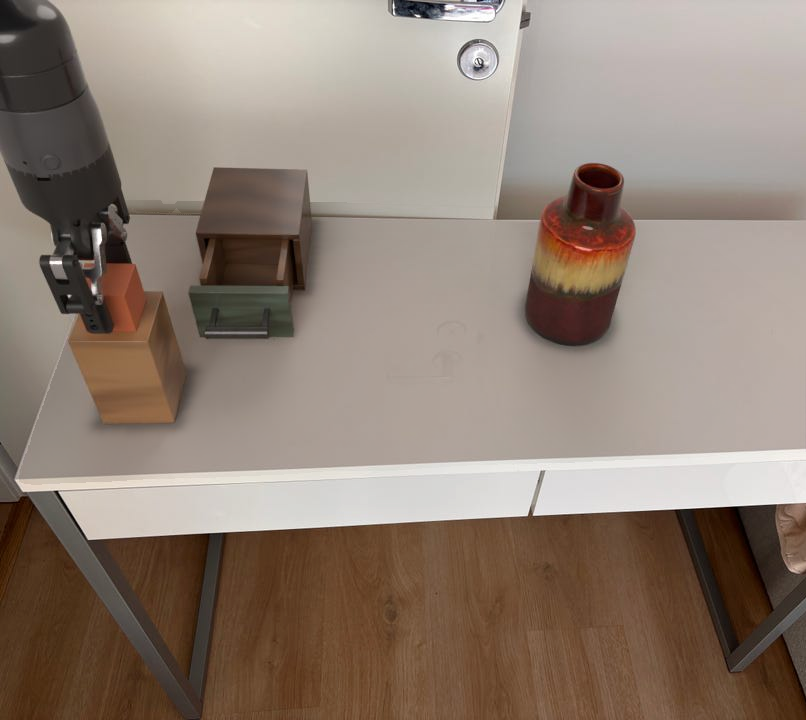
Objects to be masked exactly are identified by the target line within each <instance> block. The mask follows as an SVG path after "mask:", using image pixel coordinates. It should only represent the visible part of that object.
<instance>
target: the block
mask: <svg viewBox="0 0 806 720" xmlns="http://www.w3.org/2000/svg"><path fill="white" fill-rule="evenodd" d="M94 265H95V262H85V263H83V267H94ZM106 266H107V274H106V275H105V276H103V277H102V289H103V297H104V298H105V301H106V304H107V306H108V309H109V312H110V314H111V317H112V320H113V322H114V328H113V331H112V332H136V331H137V328H138V325H139V322H140V318H141V315H142V312H143V309H144V306H145V303H146V296H145V293H144V291H145V290H144V287H143V284H142V281H141V277H140V274H139V271H138V268H137V265H136V263H132V264H112V263H106ZM86 281H87V283H88V286H89V288H90V291H92V289H91V281H90V279H89V278H86ZM78 315H79V316H80V314H78ZM80 319H81V321H82V318H81V316H80ZM82 324H83V326H84V329H85V331H86V332H88V331H87V330H86V328H85V325H84V323H83V321H82Z"/></svg>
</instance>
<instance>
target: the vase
mask: <svg viewBox="0 0 806 720" xmlns="http://www.w3.org/2000/svg"><path fill="white" fill-rule="evenodd" d="M624 185H625V178H624V176H623V174H622V173H621V171H619V170H618V169H617V168H615V167H613V166H611V165H608V164H605V163H601V162H587V163H583V164H580V165H578V167H576V168H575V169H574V172H573V174H572V177H571V181H570V185H569V188H568V191H567V194H566V195H562V196H559V197H557V198H555V199H553V200H552V201H550V202H548V204H546V206H544V208H543V210H542V212H541V215H540V220H539V224H538V230H537V235H536V236H537V237H536V242H535V248H534V253H533V258H532V264H531V270H530V276H529V281H528V287H527V294H526V300H525V306H524V315H525V320H526V322H527V323H528V326H529V327H530V328H531V329H532V330H533V332H535V333H536V334H537V335H539V336H540V337H541V338H543V339H545V340H547V341H549V342H552V343H553V344H558V345H562V346H566V347H567V346H569V347H581V346H587V345H590V344H593V343H595V342H597V341H599V340H600V339H602V338H603V337H604V336H605V335H606V333H607V332H608V330H609V328H610V325H611V323H612V322H611V321H612V318H613V315H614V312H615V309H616V304H617V301H618V298H619V294H620V291H621V287H622V284H623V281H624V278H625V277H624V276H625V273H626V269H627V266H628V263H629V259H630V256H631V253H632V249H633V246H634V242H635V237H636V234H637V233H636V232H637V229H636V223H635V220H634V219H633V217H632V216H631V214H630V213H629V212H628V211H627V210H626V209H625V208H624V207H623V206H621V202H622V198H623V197H622V196H623V191H624Z"/></svg>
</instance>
